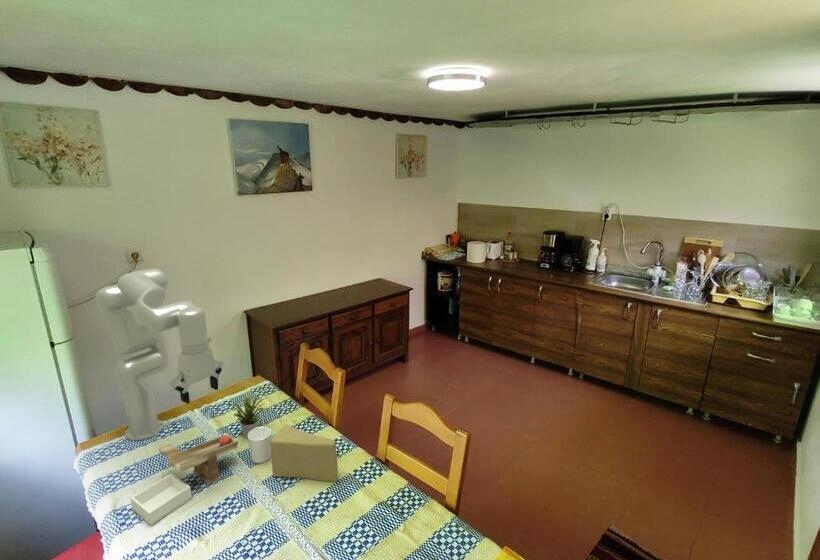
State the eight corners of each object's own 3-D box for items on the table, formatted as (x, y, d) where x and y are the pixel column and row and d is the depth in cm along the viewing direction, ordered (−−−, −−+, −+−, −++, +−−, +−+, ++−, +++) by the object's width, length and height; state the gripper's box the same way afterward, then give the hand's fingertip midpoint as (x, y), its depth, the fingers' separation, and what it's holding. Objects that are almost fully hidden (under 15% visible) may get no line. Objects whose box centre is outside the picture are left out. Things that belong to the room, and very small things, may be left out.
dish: (132, 509, 123) (130, 497, 122) (172, 484, 133) (171, 473, 132) (151, 526, 118) (149, 513, 117) (191, 498, 128) (190, 486, 127)
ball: (216, 445, 141) (216, 436, 141) (225, 441, 144) (225, 432, 144) (222, 449, 139) (222, 439, 139) (231, 444, 142) (231, 435, 142)
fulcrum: (193, 472, 139) (190, 450, 136) (204, 466, 142) (201, 444, 139) (210, 484, 134) (207, 461, 131) (221, 477, 137) (218, 454, 135)
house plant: (280, 431, 161) (277, 395, 157) (250, 450, 150) (246, 412, 146) (256, 419, 169) (254, 384, 164) (226, 436, 157) (222, 399, 153)
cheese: (343, 470, 142) (342, 434, 138) (331, 491, 133) (329, 452, 129) (286, 458, 147) (284, 422, 143) (271, 477, 138) (268, 439, 134)
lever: (153, 457, 133) (154, 444, 133) (210, 436, 150) (211, 424, 150) (180, 476, 125) (182, 462, 125) (237, 451, 143) (238, 440, 142)
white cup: (265, 466, 143) (263, 441, 140) (245, 462, 144) (243, 438, 141) (276, 451, 150) (275, 428, 147) (257, 448, 152) (255, 425, 149)
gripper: (213, 334, 135) (217, 380, 139) (159, 353, 120) (166, 403, 125) (227, 340, 131) (231, 387, 136) (173, 360, 117) (180, 412, 121)
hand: (200, 395), depth 130 cm, fingers open, 9 cm apart
